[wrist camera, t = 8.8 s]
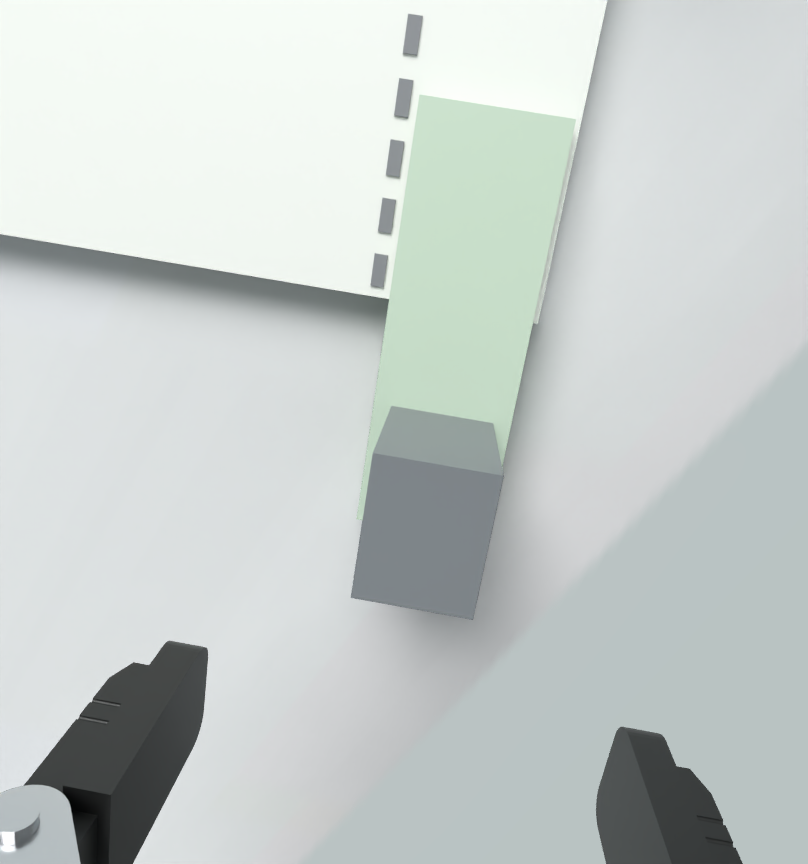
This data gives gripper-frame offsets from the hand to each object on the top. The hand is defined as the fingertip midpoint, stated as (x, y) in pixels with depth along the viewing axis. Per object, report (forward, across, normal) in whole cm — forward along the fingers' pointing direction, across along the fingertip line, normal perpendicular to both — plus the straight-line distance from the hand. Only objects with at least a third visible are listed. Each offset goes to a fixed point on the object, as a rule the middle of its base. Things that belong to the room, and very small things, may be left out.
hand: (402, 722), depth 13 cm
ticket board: (+17, +9, -14) cm, 24 cm away
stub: (+15, 0, -5) cm, 16 cm away
